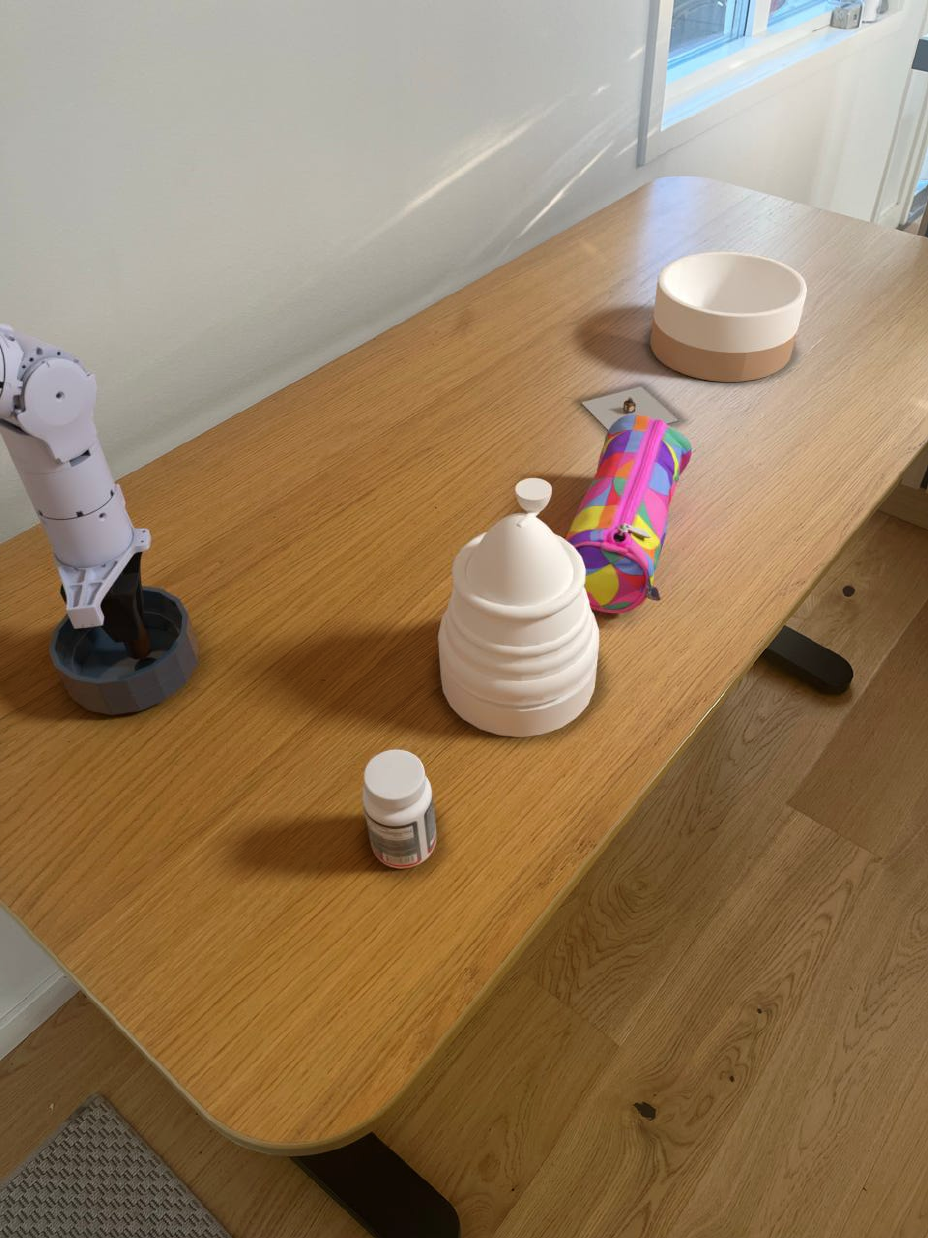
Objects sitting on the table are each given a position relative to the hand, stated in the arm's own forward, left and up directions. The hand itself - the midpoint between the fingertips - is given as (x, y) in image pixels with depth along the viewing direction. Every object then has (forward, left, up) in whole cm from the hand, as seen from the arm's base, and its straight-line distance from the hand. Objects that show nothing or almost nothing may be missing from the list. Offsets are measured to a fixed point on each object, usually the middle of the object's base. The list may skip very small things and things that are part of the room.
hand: (129, 627), depth 75 cm
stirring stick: (0, 0, -3) cm, 3 cm away
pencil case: (+44, +7, -5) cm, 45 cm away
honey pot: (+31, -7, -5) cm, 32 cm away
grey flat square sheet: (+51, +30, -5) cm, 60 cm away
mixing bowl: (-1, 0, -4) cm, 4 cm away
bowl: (+66, +42, -5) cm, 79 cm away
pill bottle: (+20, -21, -5) cm, 29 cm away
